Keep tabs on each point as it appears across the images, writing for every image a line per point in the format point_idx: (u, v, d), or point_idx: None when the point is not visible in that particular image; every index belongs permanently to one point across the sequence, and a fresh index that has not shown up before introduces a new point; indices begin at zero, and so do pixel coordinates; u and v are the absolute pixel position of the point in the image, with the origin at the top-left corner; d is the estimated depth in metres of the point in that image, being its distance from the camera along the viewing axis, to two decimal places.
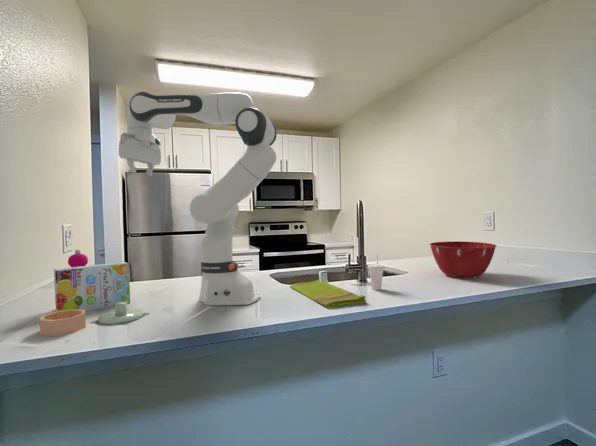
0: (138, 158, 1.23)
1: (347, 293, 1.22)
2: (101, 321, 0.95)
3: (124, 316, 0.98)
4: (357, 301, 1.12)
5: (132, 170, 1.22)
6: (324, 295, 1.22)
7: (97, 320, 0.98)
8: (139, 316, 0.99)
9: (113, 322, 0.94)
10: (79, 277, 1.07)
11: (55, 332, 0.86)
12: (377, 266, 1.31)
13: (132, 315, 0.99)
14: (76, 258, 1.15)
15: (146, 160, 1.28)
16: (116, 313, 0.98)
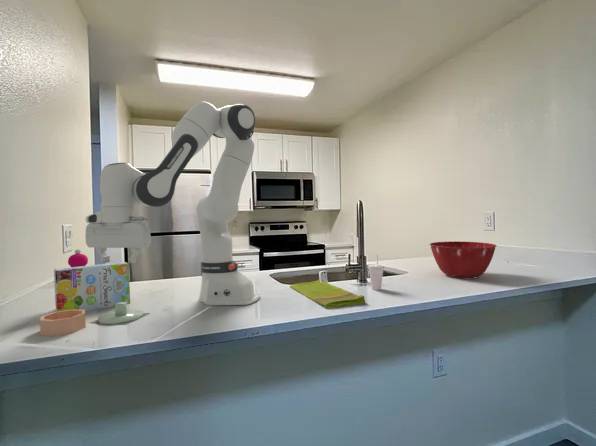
0: None
1: (347, 293, 1.22)
2: (101, 321, 0.95)
3: (124, 316, 0.98)
4: (356, 301, 1.12)
5: (135, 260, 0.99)
6: (324, 295, 1.22)
7: (97, 320, 0.98)
8: (139, 316, 0.99)
9: (113, 322, 0.94)
10: (79, 277, 1.07)
11: (55, 332, 0.86)
12: (377, 266, 1.31)
13: (132, 315, 0.99)
14: (76, 258, 1.15)
15: None
16: (116, 313, 0.98)
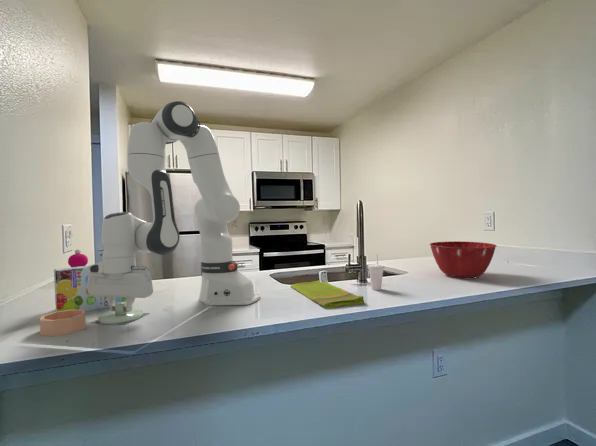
0: None
1: (346, 293, 1.22)
2: (101, 321, 0.95)
3: (124, 316, 0.98)
4: (355, 301, 1.12)
5: (130, 309, 0.99)
6: (323, 295, 1.22)
7: (97, 320, 0.98)
8: (139, 316, 0.99)
9: (113, 322, 0.94)
10: (79, 277, 1.07)
11: (55, 332, 0.86)
12: (377, 266, 1.31)
13: (132, 315, 0.99)
14: (76, 258, 1.15)
15: None
16: (116, 313, 0.98)
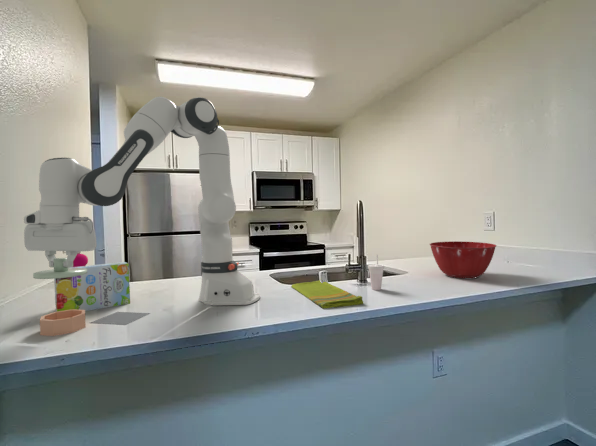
0: None
1: (346, 293, 1.21)
2: (35, 275, 0.85)
3: (63, 272, 0.88)
4: (354, 302, 1.11)
5: (71, 265, 0.90)
6: (322, 295, 1.22)
7: (97, 320, 0.98)
8: (80, 273, 0.90)
9: (48, 276, 0.84)
10: (79, 277, 1.07)
11: (55, 332, 0.86)
12: (377, 266, 1.31)
13: (72, 271, 0.89)
14: (76, 258, 1.15)
15: None
16: (55, 269, 0.89)
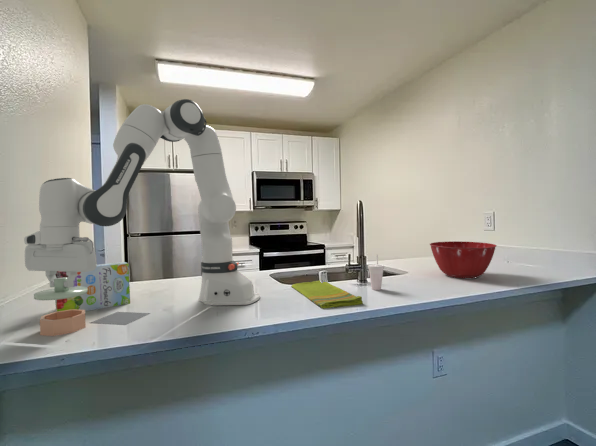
0: None
1: (345, 294, 1.21)
2: (36, 297, 0.85)
3: (64, 292, 0.89)
4: (353, 302, 1.11)
5: (71, 285, 0.90)
6: (322, 295, 1.22)
7: (97, 320, 0.98)
8: (81, 293, 0.90)
9: (49, 298, 0.85)
10: (79, 277, 1.07)
11: (55, 332, 0.86)
12: (377, 266, 1.31)
13: (73, 291, 0.89)
14: None
15: None
16: (55, 289, 0.89)
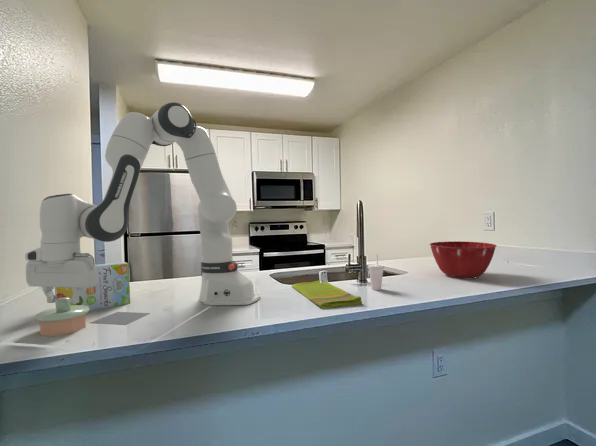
0: None
1: (345, 294, 1.21)
2: (38, 318, 0.86)
3: (65, 313, 0.89)
4: (352, 302, 1.11)
5: (77, 301, 0.90)
6: (322, 295, 1.22)
7: (97, 320, 0.98)
8: (83, 313, 0.90)
9: (50, 319, 0.85)
10: None
11: (55, 332, 0.86)
12: (377, 266, 1.31)
13: (75, 312, 0.90)
14: None
15: None
16: (57, 309, 0.89)
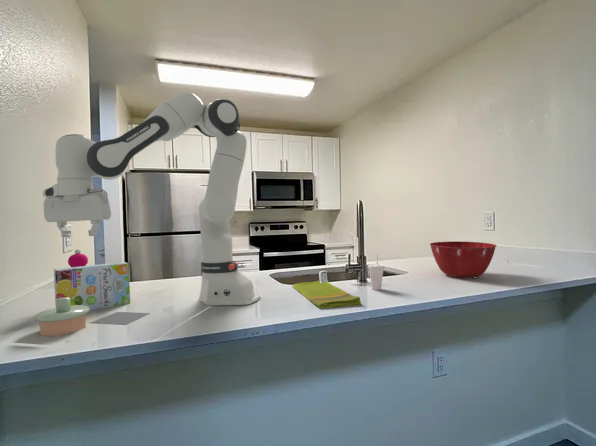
0: None
1: (345, 294, 1.21)
2: (38, 318, 0.86)
3: (65, 313, 0.89)
4: (351, 302, 1.11)
5: (95, 233, 0.98)
6: (321, 295, 1.22)
7: (97, 320, 0.98)
8: (83, 313, 0.90)
9: (50, 319, 0.85)
10: (79, 277, 1.07)
11: (55, 332, 0.86)
12: (377, 266, 1.31)
13: (75, 312, 0.90)
14: (76, 258, 1.15)
15: None
16: (57, 309, 0.89)
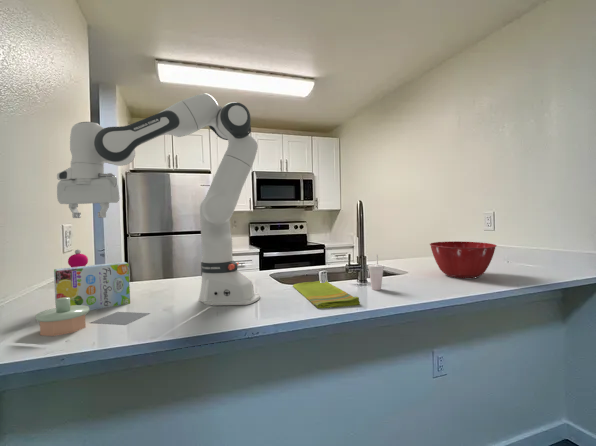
0: None
1: (344, 294, 1.21)
2: (38, 318, 0.86)
3: (65, 313, 0.89)
4: (350, 302, 1.10)
5: (104, 215, 1.04)
6: (321, 295, 1.22)
7: (97, 320, 0.98)
8: (83, 313, 0.90)
9: (50, 319, 0.85)
10: (79, 277, 1.07)
11: (55, 332, 0.86)
12: (377, 266, 1.31)
13: (75, 312, 0.90)
14: (76, 258, 1.15)
15: None
16: (57, 309, 0.89)
